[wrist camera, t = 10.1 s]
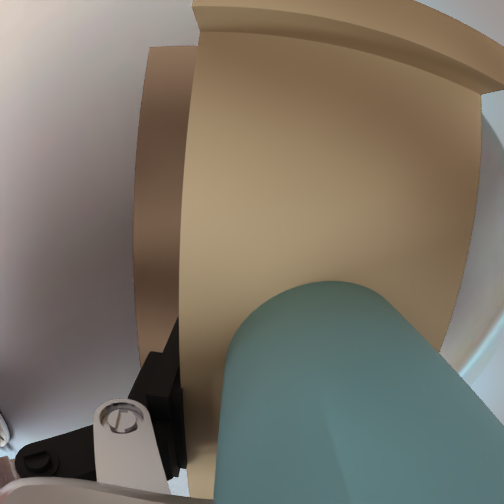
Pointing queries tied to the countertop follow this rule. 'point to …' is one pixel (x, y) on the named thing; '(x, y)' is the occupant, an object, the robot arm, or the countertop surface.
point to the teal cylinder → (349, 409)
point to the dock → (160, 192)
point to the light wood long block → (323, 171)
